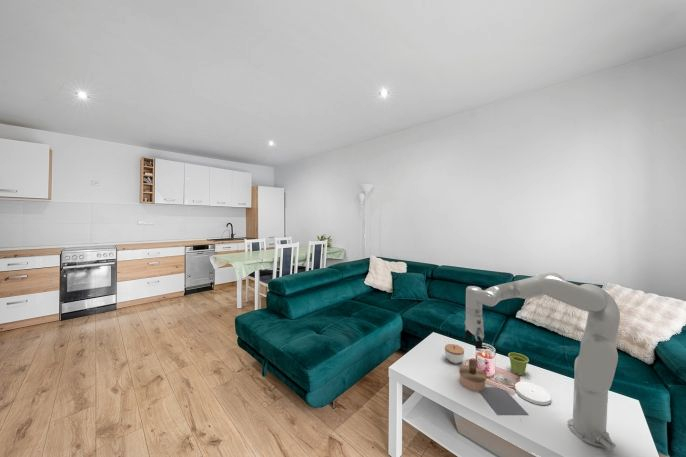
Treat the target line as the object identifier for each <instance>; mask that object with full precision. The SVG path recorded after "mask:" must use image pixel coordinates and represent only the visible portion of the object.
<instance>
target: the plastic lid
mask: <svg viewBox="0 0 686 457" xmlns="http://www.w3.org/2000/svg"><path fill="white" fill-rule="evenodd" d="M515 389H516V391H515V392H517V393H516V394H517V395H518V396H519V397H520V398H521V399H523V400H525V401H527V402H530V403H531V404H535V405H539V406H547V405H550V404H551V402H552V396H551V394H550V393H549V392H548V391H547V390H546V389H545V388H543V387H541V386H539V385H537V384H535V383H532V382H528V381H517V382H516V383H514V390H515Z"/></svg>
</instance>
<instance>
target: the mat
mask: <svg viewBox="0 0 686 457" xmlns="http://www.w3.org/2000/svg"><path fill="white" fill-rule="evenodd" d="M497 387H498V386H494V387H493V386H485V389H483V390H482V391H478V393H479V394H480V395H481V397H482V398H483V399H484V400H485V402H486V403H487V404H488V406H489V407H490V408H491V409H492V410H493V412H494V413H495V414H496V416H530V415H529V413H528V412H527V411H526V410H525V409H524V408H523V407H522V406H521V404H519V403H518V402H517V400H516V399H514V397H513V396H512V395H511V394H510V393H509V392H508V390H506V389H505V390H506V391H505V390H503V389H500V388H497Z"/></svg>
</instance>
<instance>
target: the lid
mask: <svg viewBox="0 0 686 457" xmlns="http://www.w3.org/2000/svg"><path fill="white" fill-rule="evenodd" d="M468 363H469V364H466V365H462V366H460V367H459V375H460V374H461V376H462V377H464V378H465V379H467V380H469V381H472V382H478V383H480V382H484V381H485V382H487V374H486V373H485V372H484V370H482V369H481V368H478V367H477V360H476V359H473V358H470V359H469V360H468Z"/></svg>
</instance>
